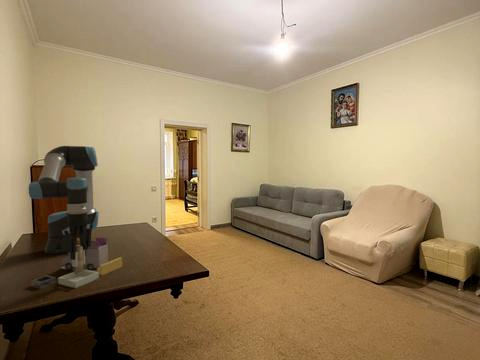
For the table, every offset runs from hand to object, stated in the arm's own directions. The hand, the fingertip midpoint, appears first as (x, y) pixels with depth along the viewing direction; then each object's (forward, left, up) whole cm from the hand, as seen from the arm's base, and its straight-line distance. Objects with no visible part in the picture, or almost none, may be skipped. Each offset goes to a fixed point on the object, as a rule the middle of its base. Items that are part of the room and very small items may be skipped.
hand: (78, 264), depth 115 cm
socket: (-11, -8, -8) cm, 16 cm away
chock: (+3, +14, -7) cm, 16 cm away
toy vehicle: (-11, +11, -7) cm, 17 cm away
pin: (0, 0, -4) cm, 4 cm away
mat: (-10, +14, -8) cm, 19 cm away
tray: (0, 0, -8) cm, 8 cm away
